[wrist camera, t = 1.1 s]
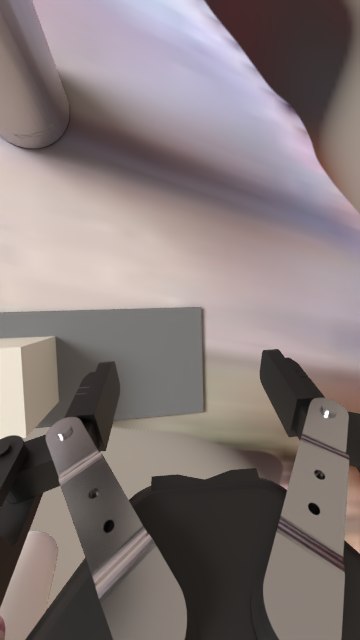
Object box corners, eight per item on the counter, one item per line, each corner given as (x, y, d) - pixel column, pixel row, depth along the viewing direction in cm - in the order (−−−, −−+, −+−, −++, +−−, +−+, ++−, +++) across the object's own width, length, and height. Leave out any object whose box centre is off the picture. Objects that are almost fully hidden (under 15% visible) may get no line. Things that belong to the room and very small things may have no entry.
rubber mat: (-29, 432, 28) (-32, 434, 27) (-38, 313, 27) (-41, 313, 27) (202, 410, 32) (203, 411, 32) (200, 307, 31) (201, 307, 31)
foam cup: (16, 605, 30) (-81, 833, 17) (-27, 550, 29) (-166, 747, 16) (85, 559, 31) (43, 740, 18) (45, 504, 30) (-30, 654, 17)
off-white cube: (-15, 407, 28) (-79, 448, 20) (-20, 339, 27) (-88, 352, 19) (59, 401, 29) (26, 437, 21) (55, 336, 28) (20, 347, 20)
